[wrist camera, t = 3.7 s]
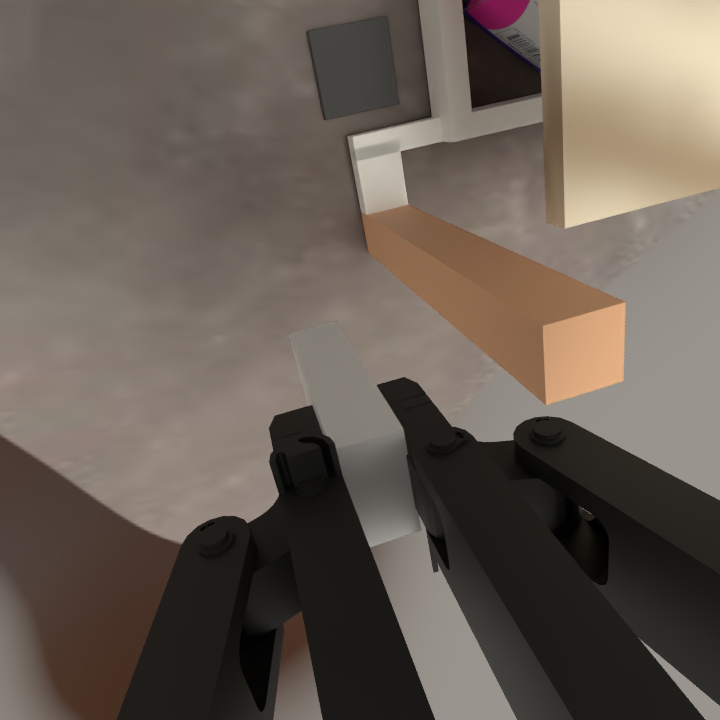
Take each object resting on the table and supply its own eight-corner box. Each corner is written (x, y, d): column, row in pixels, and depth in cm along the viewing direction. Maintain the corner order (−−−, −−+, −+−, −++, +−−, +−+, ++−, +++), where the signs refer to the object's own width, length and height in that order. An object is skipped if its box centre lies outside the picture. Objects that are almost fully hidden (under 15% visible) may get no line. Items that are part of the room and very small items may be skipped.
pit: (307, 32, 27) (308, 31, 27) (384, 17, 28) (387, 15, 27) (324, 119, 29) (326, 119, 28) (397, 104, 29) (399, 103, 29)
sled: (297, -134, 24) (497, -689, 8) (642, -185, 27) (1375, -691, 10) (368, 252, 32) (546, 405, 15) (630, 185, 35) (1034, 253, 18)
